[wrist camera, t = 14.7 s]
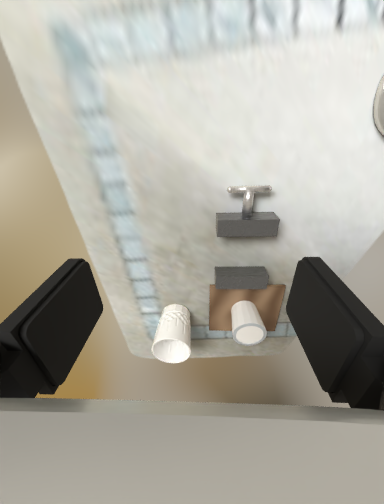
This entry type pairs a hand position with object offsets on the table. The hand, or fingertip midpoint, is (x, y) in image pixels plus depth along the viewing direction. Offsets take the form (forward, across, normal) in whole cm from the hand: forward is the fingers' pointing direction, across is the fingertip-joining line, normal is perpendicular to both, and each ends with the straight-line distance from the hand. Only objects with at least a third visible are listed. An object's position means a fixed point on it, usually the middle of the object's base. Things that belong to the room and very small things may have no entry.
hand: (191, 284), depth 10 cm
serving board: (+28, -10, +30) cm, 42 cm away
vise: (+28, -8, +12) cm, 32 cm away
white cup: (+28, +6, +32) cm, 43 cm away
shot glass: (+28, -10, +30) cm, 42 cm away
